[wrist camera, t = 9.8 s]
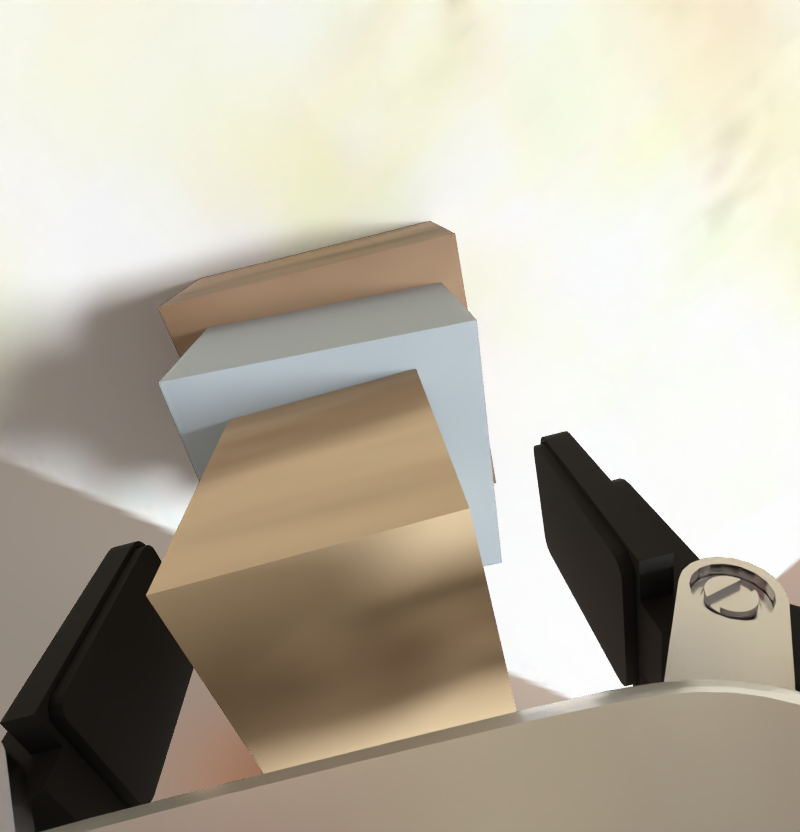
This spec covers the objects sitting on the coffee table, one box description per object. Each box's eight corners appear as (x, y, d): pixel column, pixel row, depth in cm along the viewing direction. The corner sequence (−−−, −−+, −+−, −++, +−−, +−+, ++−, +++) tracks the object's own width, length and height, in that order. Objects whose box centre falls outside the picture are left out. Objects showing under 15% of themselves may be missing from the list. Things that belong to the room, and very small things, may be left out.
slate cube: (207, 327, 17) (158, 382, 12) (441, 282, 17) (476, 319, 12) (274, 516, 20) (254, 613, 16) (467, 477, 20) (501, 562, 16)
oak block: (228, 419, 13) (145, 595, 7) (416, 368, 13) (469, 508, 7) (293, 562, 15) (266, 777, 10) (454, 519, 15) (516, 711, 10)
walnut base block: (201, 277, 21) (158, 307, 16) (429, 220, 21) (454, 233, 16) (277, 470, 26) (262, 540, 21) (466, 423, 26) (495, 482, 21)
